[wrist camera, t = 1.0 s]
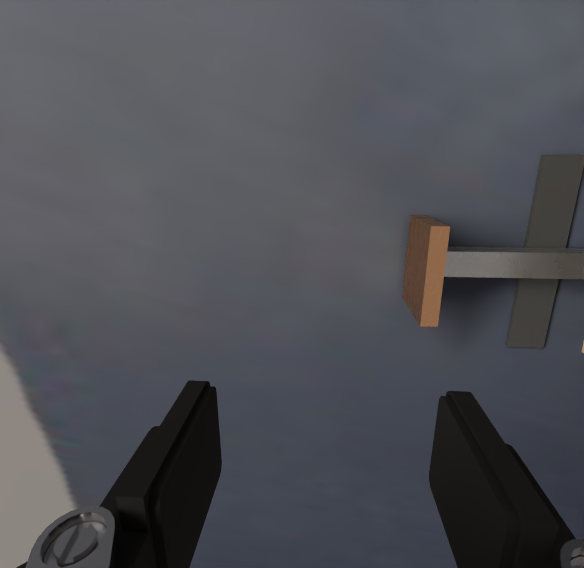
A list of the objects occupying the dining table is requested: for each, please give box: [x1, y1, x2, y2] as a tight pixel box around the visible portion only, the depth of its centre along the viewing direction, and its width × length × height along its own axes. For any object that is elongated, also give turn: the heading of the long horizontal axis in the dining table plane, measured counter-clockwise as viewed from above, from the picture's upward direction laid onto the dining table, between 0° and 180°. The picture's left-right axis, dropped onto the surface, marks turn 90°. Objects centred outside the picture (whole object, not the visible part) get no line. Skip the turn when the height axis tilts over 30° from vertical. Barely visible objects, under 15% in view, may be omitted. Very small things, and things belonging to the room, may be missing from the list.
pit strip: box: [506, 155, 584, 348], centre depth 30 cm, size 16×3×1 cm, turn 0°
